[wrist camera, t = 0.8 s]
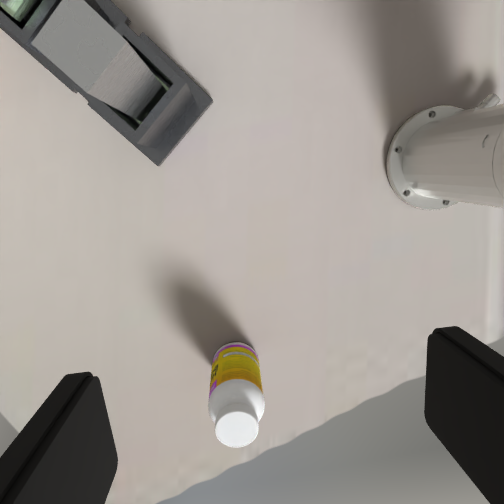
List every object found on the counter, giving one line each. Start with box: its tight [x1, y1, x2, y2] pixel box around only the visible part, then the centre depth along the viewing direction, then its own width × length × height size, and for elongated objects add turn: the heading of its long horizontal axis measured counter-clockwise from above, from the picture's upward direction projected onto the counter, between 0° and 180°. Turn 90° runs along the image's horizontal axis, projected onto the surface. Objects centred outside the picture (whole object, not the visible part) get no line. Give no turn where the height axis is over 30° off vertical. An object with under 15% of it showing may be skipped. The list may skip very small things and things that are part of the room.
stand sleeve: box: [72, 20, 213, 166], centre depth 34 cm, size 10×10×9 cm
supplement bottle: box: [208, 342, 265, 447], centre depth 41 cm, size 7×7×13 cm
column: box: [31, 0, 169, 124], centre depth 29 cm, size 5×5×18 cm
